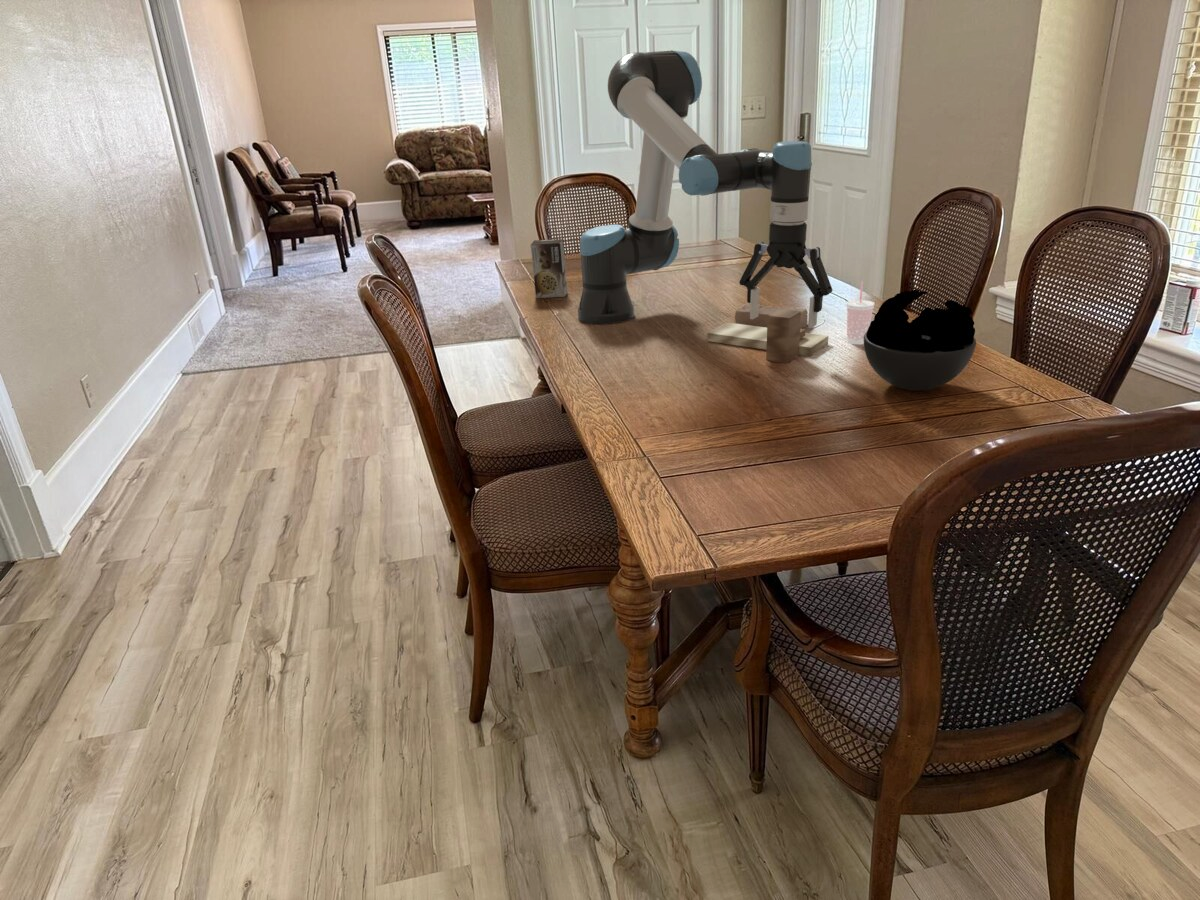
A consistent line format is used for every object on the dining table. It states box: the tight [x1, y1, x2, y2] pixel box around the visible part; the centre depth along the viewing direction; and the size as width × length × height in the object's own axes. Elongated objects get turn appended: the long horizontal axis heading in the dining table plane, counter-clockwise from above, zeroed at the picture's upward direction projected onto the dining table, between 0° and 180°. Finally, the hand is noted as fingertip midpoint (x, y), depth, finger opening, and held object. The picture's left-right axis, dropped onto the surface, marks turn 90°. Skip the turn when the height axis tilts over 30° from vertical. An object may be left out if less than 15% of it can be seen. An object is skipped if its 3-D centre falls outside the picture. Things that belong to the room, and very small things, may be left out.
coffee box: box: [530, 238, 568, 299], centre depth 239 cm, size 9×6×16 cm
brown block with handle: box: [765, 309, 806, 364], centre depth 177 cm, size 5×13×10 cm, turn 144°
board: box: [706, 321, 829, 357], centre depth 187 cm, size 26×10×2 cm, turn 53°
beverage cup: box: [845, 280, 875, 345], centre depth 182 cm, size 6×6×14 cm
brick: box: [734, 302, 809, 329], centre depth 200 cm, size 17×8×5 cm, turn 63°
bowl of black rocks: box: [863, 289, 977, 391], centre depth 152 cm, size 20×20×19 cm
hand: (782, 322), depth 174 cm, fingers open, 13 cm apart
